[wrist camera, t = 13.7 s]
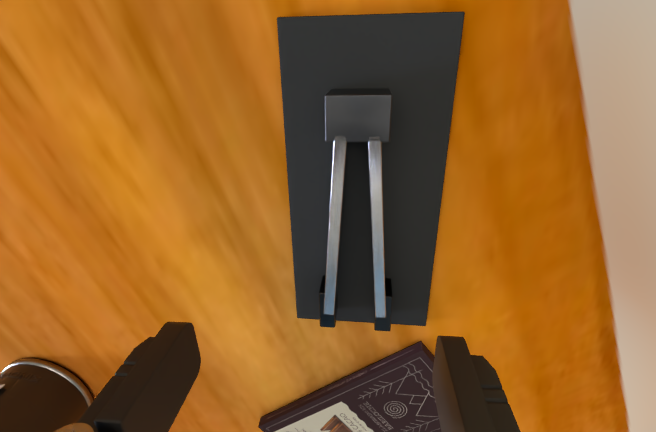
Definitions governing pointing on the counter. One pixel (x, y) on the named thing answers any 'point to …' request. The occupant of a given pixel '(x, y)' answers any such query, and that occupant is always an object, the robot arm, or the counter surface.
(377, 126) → the tongs
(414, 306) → the mat
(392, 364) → the chocolate bar
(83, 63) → the counter surface
